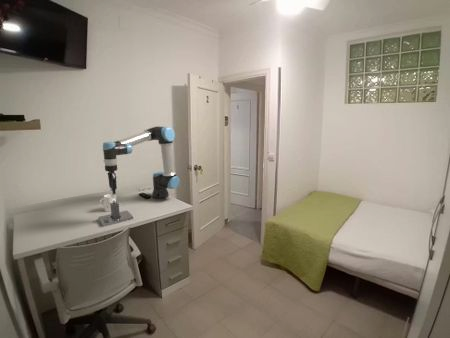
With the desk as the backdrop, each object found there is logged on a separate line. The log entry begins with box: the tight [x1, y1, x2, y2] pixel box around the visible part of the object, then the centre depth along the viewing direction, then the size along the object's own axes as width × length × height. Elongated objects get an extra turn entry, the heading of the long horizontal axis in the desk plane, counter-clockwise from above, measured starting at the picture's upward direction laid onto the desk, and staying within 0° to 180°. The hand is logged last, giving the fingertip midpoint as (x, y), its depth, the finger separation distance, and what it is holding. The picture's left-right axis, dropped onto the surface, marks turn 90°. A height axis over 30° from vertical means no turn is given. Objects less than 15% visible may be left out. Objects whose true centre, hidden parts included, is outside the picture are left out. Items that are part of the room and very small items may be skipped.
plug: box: [110, 201, 120, 219], centre depth 164 cm, size 4×4×14 cm
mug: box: [99, 193, 117, 213], centre depth 180 cm, size 12×8×12 cm
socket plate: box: [97, 210, 134, 228], centre depth 165 cm, size 20×14×3 cm
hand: (113, 197), depth 162 cm, fingers open, 2 cm apart
